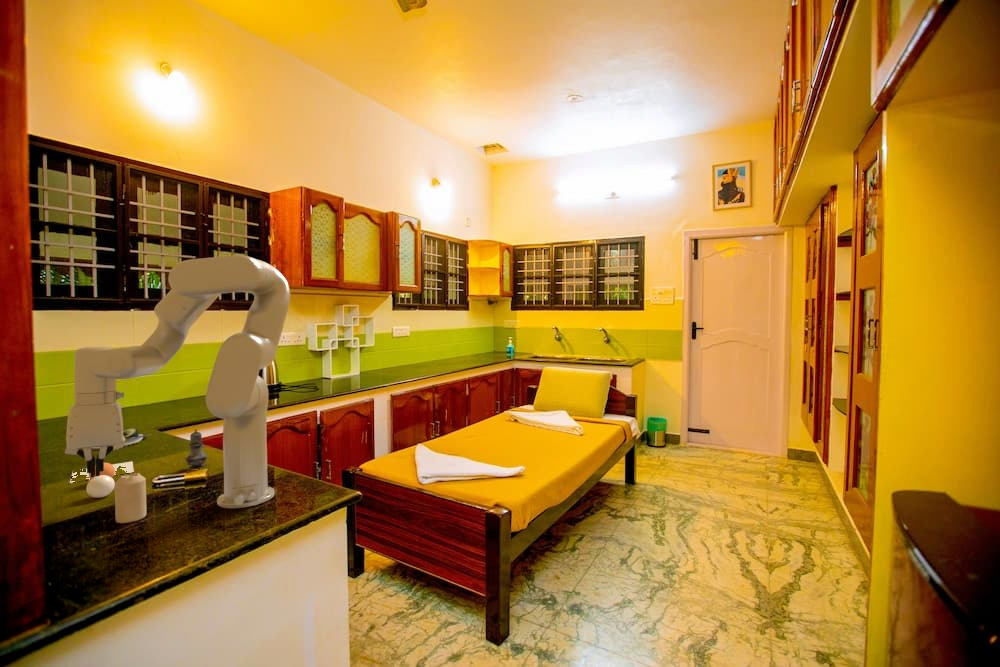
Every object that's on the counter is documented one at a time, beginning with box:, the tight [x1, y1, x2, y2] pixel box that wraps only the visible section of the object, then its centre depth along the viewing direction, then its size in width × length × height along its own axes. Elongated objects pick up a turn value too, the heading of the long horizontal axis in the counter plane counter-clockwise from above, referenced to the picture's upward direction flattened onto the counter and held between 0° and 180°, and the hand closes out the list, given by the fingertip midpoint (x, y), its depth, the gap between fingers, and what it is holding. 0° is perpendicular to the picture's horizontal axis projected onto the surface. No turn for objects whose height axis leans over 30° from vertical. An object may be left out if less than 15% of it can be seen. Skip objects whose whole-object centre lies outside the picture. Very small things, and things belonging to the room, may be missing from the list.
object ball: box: [89, 462, 115, 479], centre depth 129 cm, size 6×6×6 cm
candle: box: [114, 472, 147, 524], centre depth 105 cm, size 6×6×10 cm
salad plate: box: [91, 427, 150, 451], centre depth 170 cm, size 19×18×5 cm
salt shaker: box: [184, 429, 208, 471], centre depth 141 cm, size 6×6×12 cm
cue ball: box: [85, 475, 116, 499], centre depth 118 cm, size 6×6×6 cm
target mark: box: [69, 460, 135, 484], centre depth 138 cm, size 14×14×1 cm
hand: (95, 475), depth 110 cm, fingers closed
